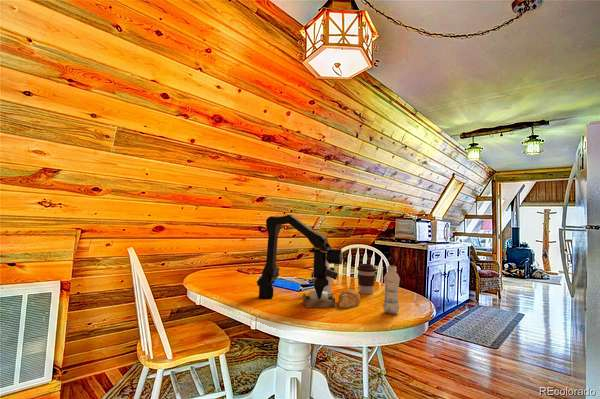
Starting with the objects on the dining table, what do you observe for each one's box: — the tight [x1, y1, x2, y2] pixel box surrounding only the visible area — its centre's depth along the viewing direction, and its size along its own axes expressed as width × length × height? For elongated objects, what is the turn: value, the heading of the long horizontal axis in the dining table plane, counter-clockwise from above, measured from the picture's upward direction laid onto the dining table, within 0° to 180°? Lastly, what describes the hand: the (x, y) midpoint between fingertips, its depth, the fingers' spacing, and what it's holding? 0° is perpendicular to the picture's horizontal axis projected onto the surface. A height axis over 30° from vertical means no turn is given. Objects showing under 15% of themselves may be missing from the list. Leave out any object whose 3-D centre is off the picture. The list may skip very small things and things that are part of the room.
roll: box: [308, 290, 329, 300], centre depth 148 cm, size 8×5×5 cm, turn 93°
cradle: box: [302, 292, 336, 308], centre depth 148 cm, size 14×8×4 cm, turn 93°
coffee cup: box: [356, 263, 377, 295], centre depth 173 cm, size 10×10×15 cm
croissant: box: [338, 288, 362, 309], centre depth 150 cm, size 21×10×8 cm, turn 150°
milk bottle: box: [323, 261, 333, 296], centre depth 169 cm, size 8×8×20 cm
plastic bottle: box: [382, 265, 401, 315], centre depth 138 cm, size 6×7×20 cm
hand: (318, 296), depth 148 cm, fingers open, 6 cm apart
